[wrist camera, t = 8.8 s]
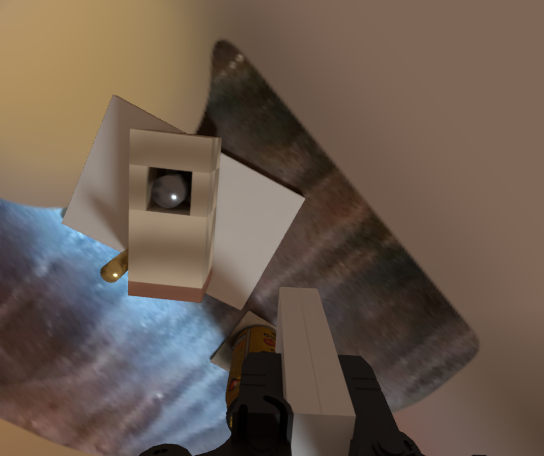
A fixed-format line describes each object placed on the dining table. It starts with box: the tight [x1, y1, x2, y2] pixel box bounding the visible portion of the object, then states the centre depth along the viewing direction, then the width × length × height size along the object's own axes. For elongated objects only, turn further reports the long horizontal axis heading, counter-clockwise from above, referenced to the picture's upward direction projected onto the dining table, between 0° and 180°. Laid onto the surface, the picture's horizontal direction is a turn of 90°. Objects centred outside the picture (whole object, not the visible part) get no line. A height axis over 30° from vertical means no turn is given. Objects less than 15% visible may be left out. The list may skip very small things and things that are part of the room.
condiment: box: [210, 311, 277, 431], centre depth 38 cm, size 7×8×12 cm
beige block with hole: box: [128, 129, 222, 303], centre depth 35 cm, size 16×7×6 cm, turn 174°
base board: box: [62, 95, 305, 310], centre depth 39 cm, size 22×15×1 cm
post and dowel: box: [100, 170, 193, 283], centre depth 36 cm, size 4×12×8 cm, turn 152°
